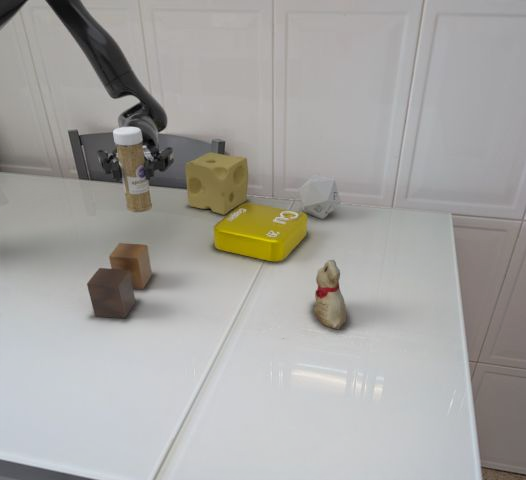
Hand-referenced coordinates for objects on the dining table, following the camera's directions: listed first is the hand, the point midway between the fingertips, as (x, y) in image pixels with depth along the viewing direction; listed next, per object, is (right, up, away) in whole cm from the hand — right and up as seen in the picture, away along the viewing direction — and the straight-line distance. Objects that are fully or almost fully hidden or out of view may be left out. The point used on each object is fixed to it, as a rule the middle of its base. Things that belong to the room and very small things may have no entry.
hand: (132, 174), depth 83 cm
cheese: (+11, +5, +33) cm, 35 cm away
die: (+34, +1, +28) cm, 44 cm away
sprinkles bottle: (0, -4, +7) cm, 8 cm away
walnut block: (-2, -23, -2) cm, 23 cm away
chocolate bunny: (+32, -24, -3) cm, 40 cm away
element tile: (+22, -7, +17) cm, 29 cm away
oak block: (-1, -17, +5) cm, 18 cm away
